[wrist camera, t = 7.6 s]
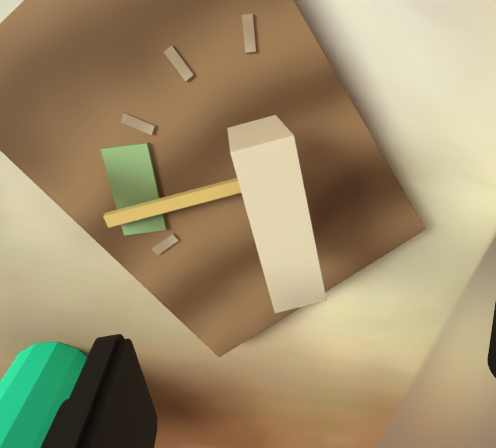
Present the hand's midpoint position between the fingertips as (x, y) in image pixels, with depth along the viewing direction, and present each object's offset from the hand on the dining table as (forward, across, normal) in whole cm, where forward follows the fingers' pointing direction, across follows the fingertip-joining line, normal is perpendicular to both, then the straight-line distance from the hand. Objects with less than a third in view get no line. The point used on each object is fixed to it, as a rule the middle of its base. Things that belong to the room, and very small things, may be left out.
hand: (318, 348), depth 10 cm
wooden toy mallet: (+13, +4, -1) cm, 13 cm away
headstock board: (+15, +3, -2) cm, 16 cm away
